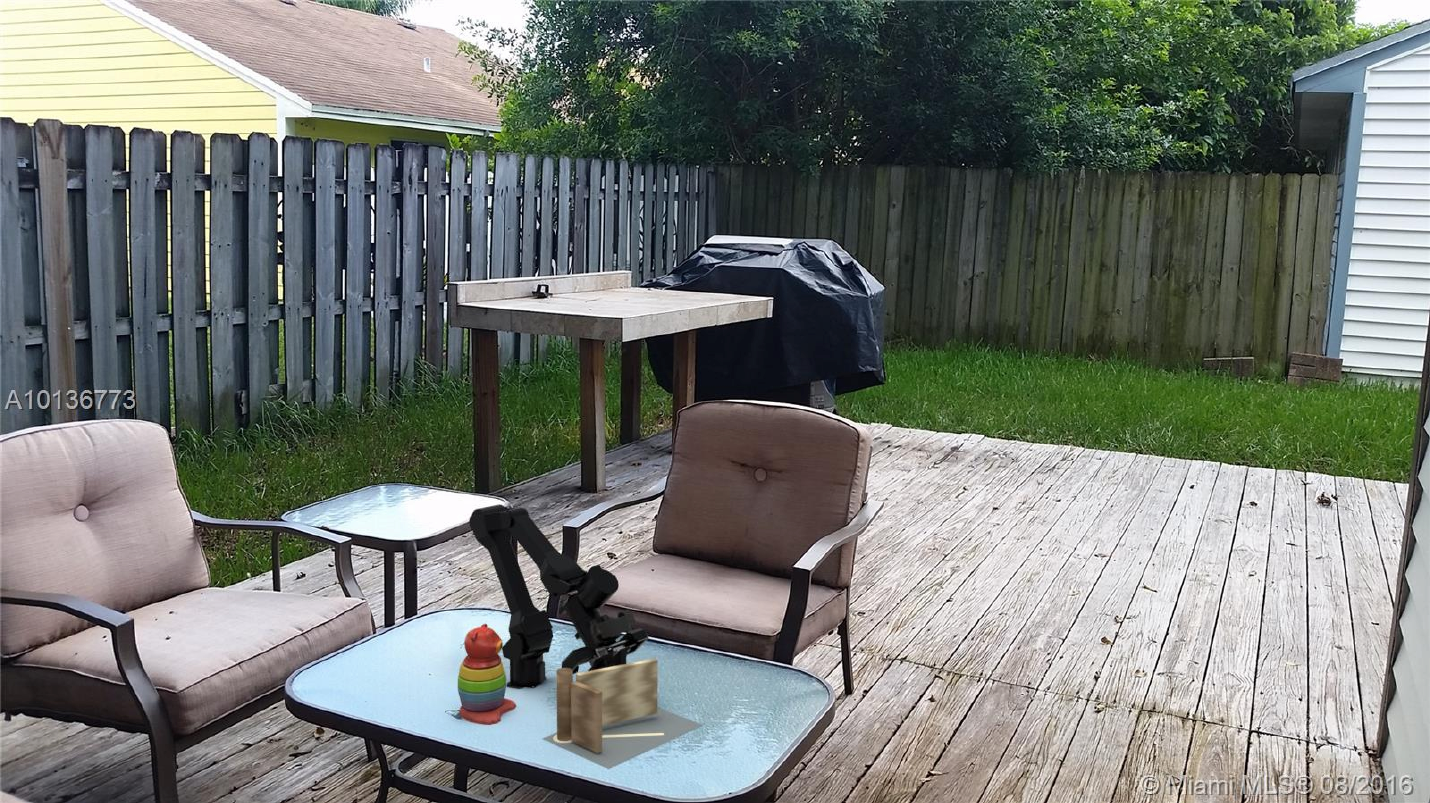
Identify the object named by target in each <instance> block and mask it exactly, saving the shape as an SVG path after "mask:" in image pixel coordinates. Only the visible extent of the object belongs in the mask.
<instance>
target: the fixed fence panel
mask: <svg viewBox="0 0 1430 803" xmlns="http://www.w3.org/2000/svg"><path fill="white" fill-rule="evenodd" d="M555 673H556V679H555V680H556V682H555V683H556V733H557V739H558V740H559V741H569V740H572V742H573V743H575V744H578V745H580V746H582V747H584V748H587V749H589V750H591V751H593V752H596V753H599V752H601V751H602V691H599V690H597V689H594V688H592V687H589V686H587V685H584V684H582V683H579V682H577V681H576V680H575V681H573V680H574V679H573V678H574V677H573V676H574V674H573V670H572V669H570V668H562V667H561V668H558V669H556V672H555Z"/></svg>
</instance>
